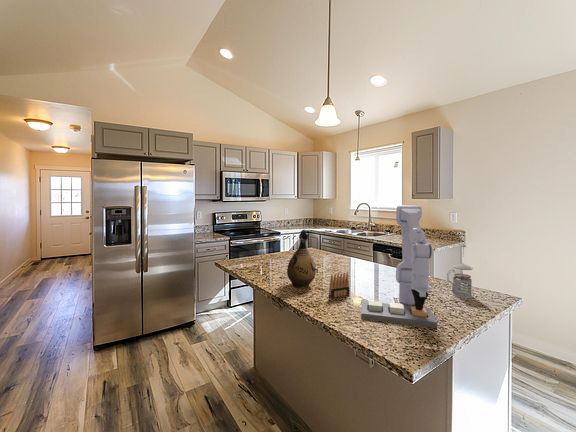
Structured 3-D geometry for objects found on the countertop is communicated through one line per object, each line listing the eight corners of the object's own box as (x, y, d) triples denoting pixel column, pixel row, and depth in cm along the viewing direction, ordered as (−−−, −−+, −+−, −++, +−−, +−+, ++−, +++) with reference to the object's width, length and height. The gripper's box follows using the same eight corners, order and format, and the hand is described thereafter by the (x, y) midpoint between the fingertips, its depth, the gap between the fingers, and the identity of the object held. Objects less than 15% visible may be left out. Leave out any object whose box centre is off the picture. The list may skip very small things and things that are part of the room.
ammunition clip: (347, 295, 136) (347, 271, 135) (349, 297, 134) (350, 272, 133) (328, 299, 131) (329, 273, 130) (330, 300, 129) (331, 274, 129)
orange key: (410, 313, 111) (411, 306, 111) (424, 315, 110) (424, 307, 109) (412, 318, 106) (412, 310, 106) (427, 320, 105) (427, 312, 105)
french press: (477, 299, 132) (479, 246, 131) (450, 297, 135) (452, 245, 133) (468, 292, 142) (470, 243, 141) (443, 290, 144) (445, 242, 143)
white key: (389, 309, 113) (389, 302, 113) (402, 311, 112) (402, 304, 112) (390, 314, 109) (390, 307, 108) (403, 316, 107) (404, 308, 107)
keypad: (362, 307, 121) (362, 300, 121) (429, 315, 113) (429, 307, 113) (361, 321, 107) (361, 313, 107) (436, 330, 100) (437, 322, 100)
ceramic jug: (316, 290, 144) (317, 232, 142) (286, 289, 144) (287, 231, 142) (314, 280, 161) (315, 228, 159) (287, 280, 161) (287, 228, 159)
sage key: (368, 307, 116) (368, 300, 116) (381, 309, 114) (381, 301, 114) (368, 312, 111) (368, 304, 111) (381, 313, 109) (382, 306, 109)
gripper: (435, 280, 99) (434, 318, 100) (428, 270, 113) (426, 304, 114) (414, 278, 101) (412, 315, 102) (409, 269, 115) (408, 302, 116)
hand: (418, 309), depth 108 cm, fingers closed, pressing on orange key
